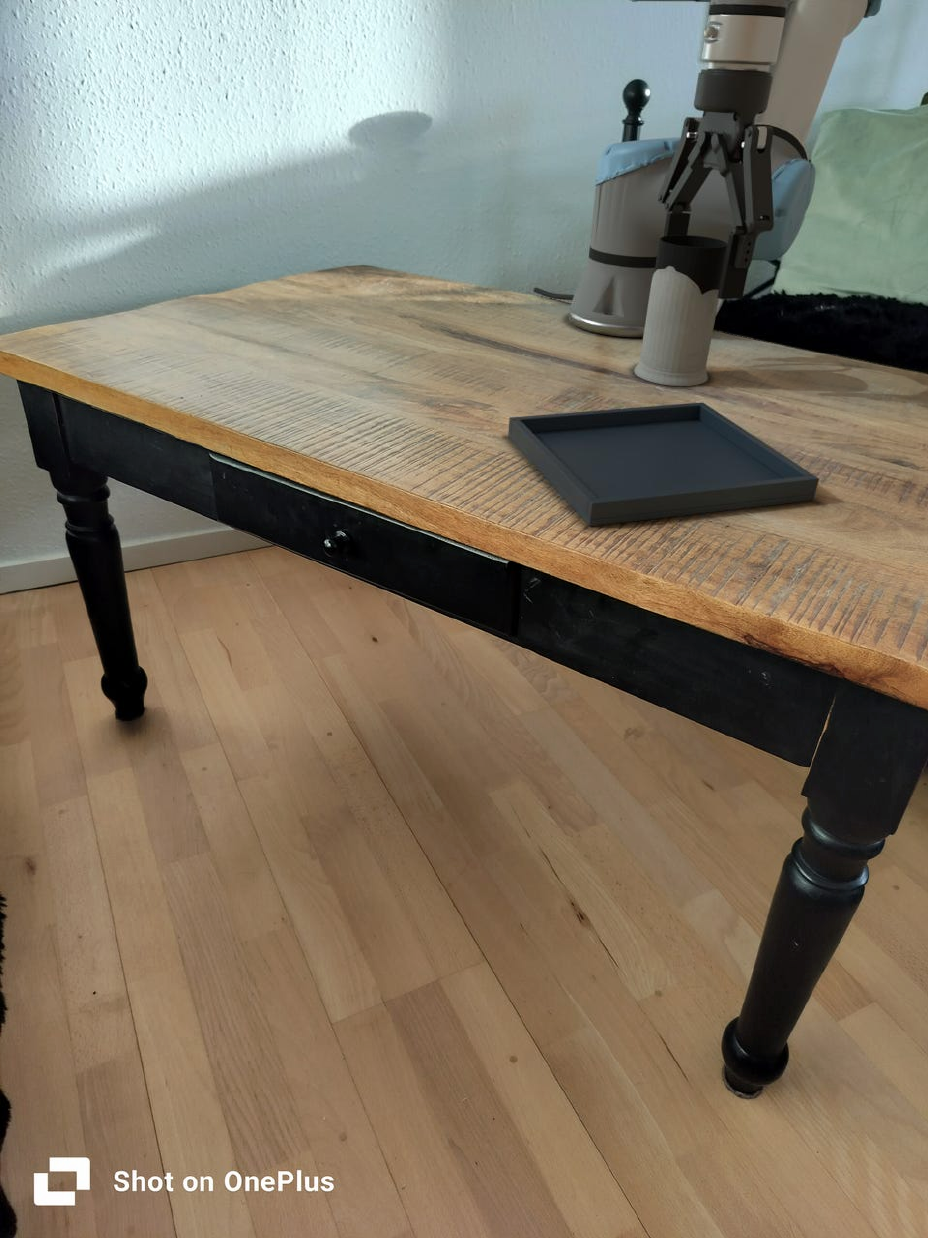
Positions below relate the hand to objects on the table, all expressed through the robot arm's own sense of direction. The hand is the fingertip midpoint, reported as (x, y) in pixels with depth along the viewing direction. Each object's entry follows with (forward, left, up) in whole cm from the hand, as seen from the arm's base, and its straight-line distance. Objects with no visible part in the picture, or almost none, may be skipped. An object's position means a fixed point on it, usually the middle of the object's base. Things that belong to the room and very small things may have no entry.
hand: (697, 284), depth 101 cm
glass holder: (0, 0, -10) cm, 10 cm away
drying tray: (+26, -18, -10) cm, 33 cm away
